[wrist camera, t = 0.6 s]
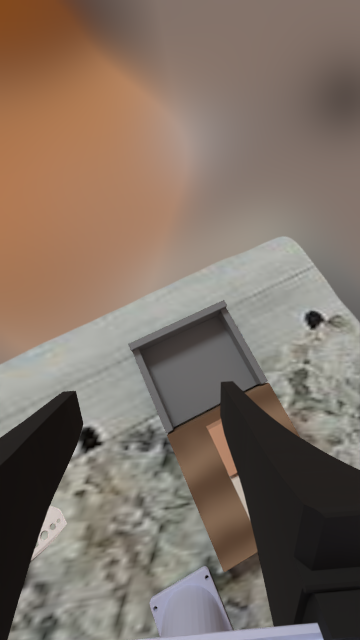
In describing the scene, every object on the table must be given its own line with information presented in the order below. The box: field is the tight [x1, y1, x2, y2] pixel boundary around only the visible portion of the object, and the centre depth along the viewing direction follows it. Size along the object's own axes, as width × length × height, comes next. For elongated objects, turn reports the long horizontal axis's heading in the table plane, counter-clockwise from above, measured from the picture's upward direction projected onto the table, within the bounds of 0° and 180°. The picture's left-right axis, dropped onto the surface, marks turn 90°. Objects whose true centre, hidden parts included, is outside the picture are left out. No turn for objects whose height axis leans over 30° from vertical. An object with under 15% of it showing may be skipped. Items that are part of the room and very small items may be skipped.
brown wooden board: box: [167, 383, 300, 572], centre depth 31 cm, size 16×16×3 cm
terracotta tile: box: [206, 419, 237, 476], centre depth 30 cm, size 6×6×3 cm
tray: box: [128, 300, 268, 433], centre depth 35 cm, size 13×16×4 cm
